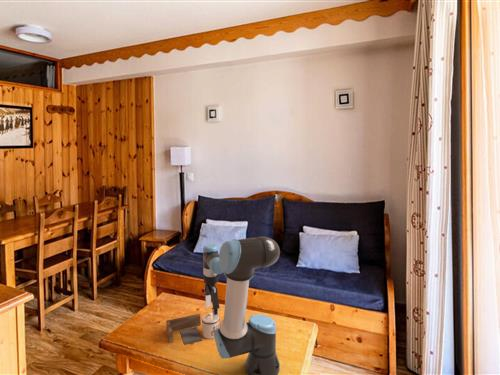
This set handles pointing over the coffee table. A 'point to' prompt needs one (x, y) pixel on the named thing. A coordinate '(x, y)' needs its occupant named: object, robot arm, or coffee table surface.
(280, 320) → the coffee table surface
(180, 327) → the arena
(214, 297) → the robot arm
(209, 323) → the teacup with lid
